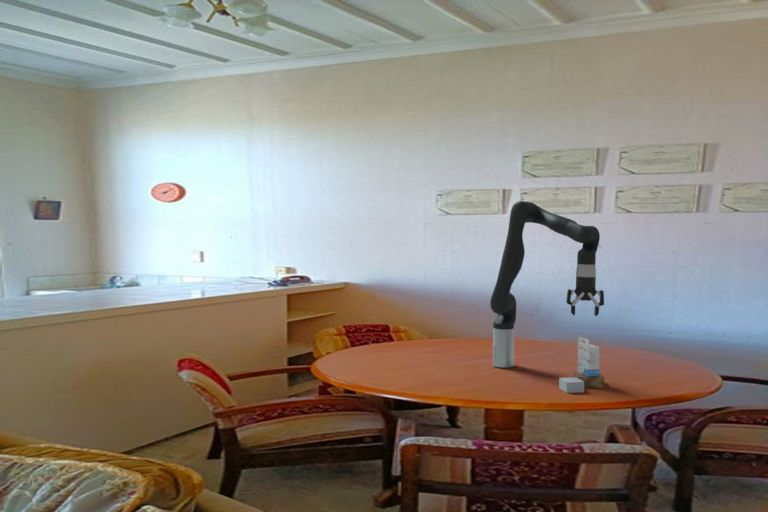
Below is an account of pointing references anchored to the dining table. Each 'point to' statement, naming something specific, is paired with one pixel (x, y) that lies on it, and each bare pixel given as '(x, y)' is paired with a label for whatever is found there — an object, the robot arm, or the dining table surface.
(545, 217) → the robot arm
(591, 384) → the tan block
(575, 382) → the grey block
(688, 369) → the dining table surface
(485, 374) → the dining table surface
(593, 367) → the ink box
